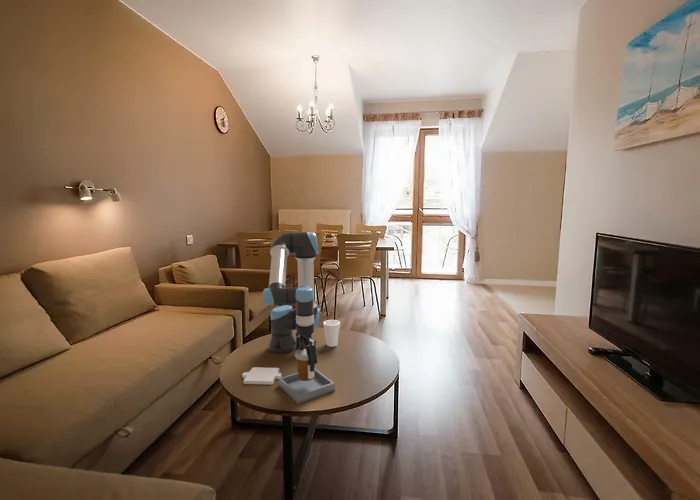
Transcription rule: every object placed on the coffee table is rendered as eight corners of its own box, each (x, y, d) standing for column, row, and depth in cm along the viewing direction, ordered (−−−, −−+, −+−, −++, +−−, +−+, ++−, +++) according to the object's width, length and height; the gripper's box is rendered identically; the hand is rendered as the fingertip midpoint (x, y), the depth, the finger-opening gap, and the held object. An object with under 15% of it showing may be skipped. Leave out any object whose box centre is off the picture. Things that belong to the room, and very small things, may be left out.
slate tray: (278, 385, 161) (278, 378, 161) (314, 374, 172) (313, 367, 171) (297, 404, 147) (297, 396, 146) (334, 390, 157) (334, 383, 157)
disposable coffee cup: (313, 384, 153) (312, 356, 151) (292, 381, 155) (291, 355, 153) (319, 373, 162) (319, 347, 160) (299, 371, 164) (298, 346, 162)
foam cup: (339, 347, 202) (339, 325, 200) (323, 347, 202) (322, 325, 200) (340, 341, 211) (340, 319, 210) (324, 341, 212) (324, 319, 210)
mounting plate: (238, 384, 163) (238, 380, 163) (247, 370, 176) (247, 367, 176) (277, 385, 163) (277, 381, 162) (284, 371, 175) (284, 368, 175)
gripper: (286, 318, 161) (287, 367, 164) (309, 332, 144) (310, 386, 148) (301, 315, 166) (302, 362, 169) (325, 328, 149) (326, 380, 152)
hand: (306, 373), depth 158 cm, fingers closed on disposable coffee cup, 8 cm apart
